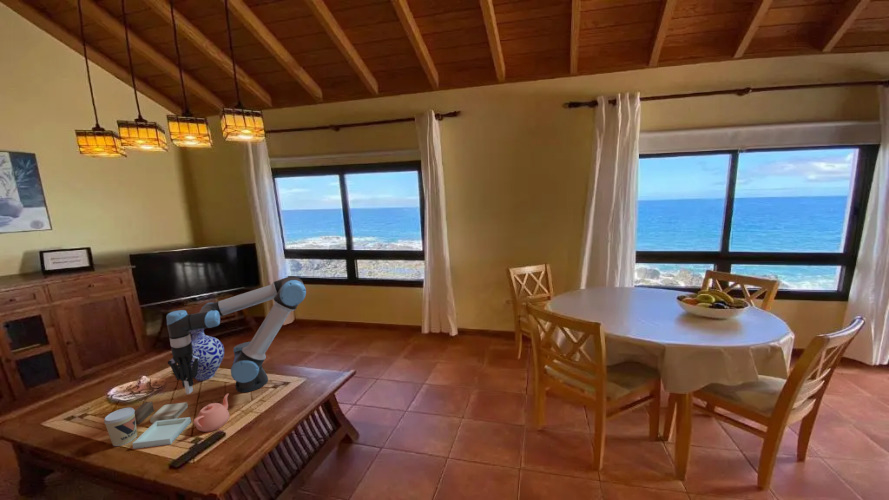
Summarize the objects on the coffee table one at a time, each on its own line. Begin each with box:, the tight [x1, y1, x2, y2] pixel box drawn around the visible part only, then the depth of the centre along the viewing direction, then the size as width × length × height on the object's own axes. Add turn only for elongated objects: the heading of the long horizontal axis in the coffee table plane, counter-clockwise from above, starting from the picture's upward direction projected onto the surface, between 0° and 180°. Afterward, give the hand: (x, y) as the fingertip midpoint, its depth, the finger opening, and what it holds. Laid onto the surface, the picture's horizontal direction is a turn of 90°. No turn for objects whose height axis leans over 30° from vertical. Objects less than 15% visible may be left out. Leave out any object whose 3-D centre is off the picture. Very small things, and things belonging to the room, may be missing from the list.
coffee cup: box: [103, 407, 138, 447], centre depth 144 cm, size 9×9×12 cm
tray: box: [131, 416, 192, 450], centre depth 147 cm, size 14×14×2 cm
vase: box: [190, 328, 225, 382], centre depth 192 cm, size 22×22×30 cm
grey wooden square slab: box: [149, 401, 189, 424], centre depth 161 cm, size 10×10×3 cm
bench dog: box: [134, 401, 155, 426], centre depth 159 cm, size 3×10×5 cm, turn 7°
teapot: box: [192, 393, 230, 433], centre depth 153 cm, size 12×18×10 cm
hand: (189, 392), depth 160 cm, fingers closed
